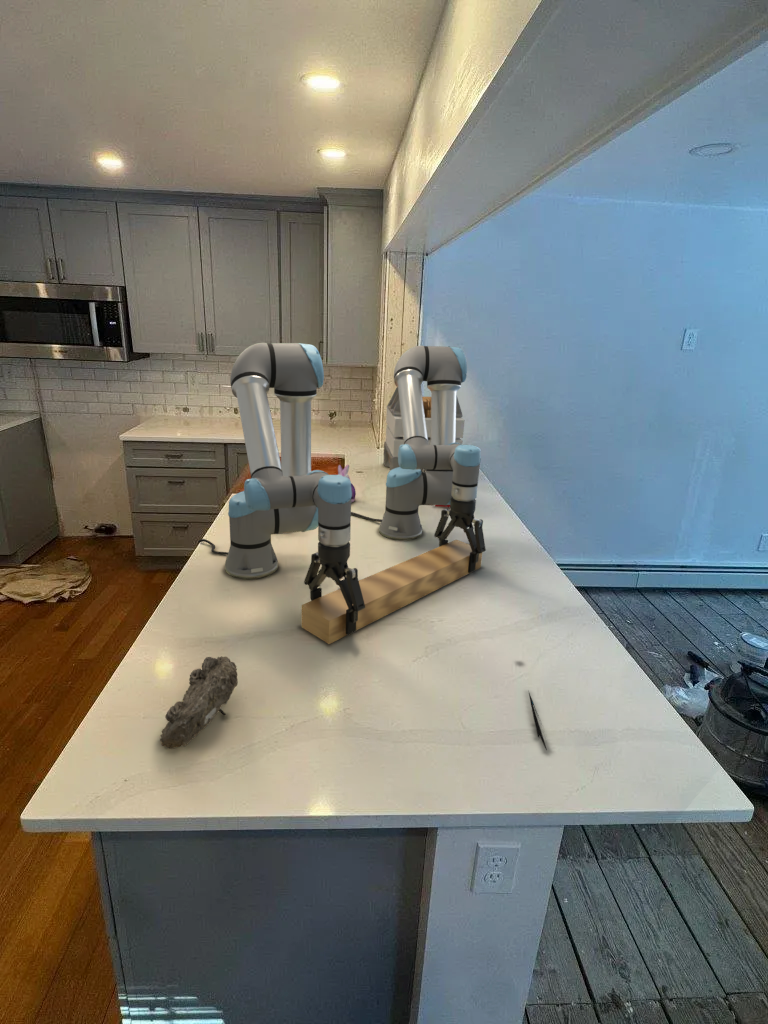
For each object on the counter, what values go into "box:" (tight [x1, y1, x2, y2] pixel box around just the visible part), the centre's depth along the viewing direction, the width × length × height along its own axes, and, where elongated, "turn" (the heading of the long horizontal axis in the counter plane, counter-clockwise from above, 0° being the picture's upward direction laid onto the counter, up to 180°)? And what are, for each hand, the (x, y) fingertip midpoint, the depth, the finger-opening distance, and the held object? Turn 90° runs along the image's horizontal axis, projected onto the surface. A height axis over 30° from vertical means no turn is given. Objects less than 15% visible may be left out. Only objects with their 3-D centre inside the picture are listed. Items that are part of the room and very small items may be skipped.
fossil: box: [160, 656, 239, 749], centre depth 107 cm, size 22×10×15 cm
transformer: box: [383, 387, 465, 471], centre depth 268 cm, size 34×33×41 cm
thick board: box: [301, 539, 483, 645], centre depth 157 cm, size 63×10×6 cm, turn 137°
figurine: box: [337, 464, 357, 504], centre depth 228 cm, size 9×10×15 cm
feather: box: [528, 689, 548, 751], centre depth 116 cm, size 2×28×2 cm
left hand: (333, 622), depth 140 cm, fingers open, 12 cm apart
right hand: (457, 565), depth 176 cm, fingers closed on thick board, 10 cm apart
